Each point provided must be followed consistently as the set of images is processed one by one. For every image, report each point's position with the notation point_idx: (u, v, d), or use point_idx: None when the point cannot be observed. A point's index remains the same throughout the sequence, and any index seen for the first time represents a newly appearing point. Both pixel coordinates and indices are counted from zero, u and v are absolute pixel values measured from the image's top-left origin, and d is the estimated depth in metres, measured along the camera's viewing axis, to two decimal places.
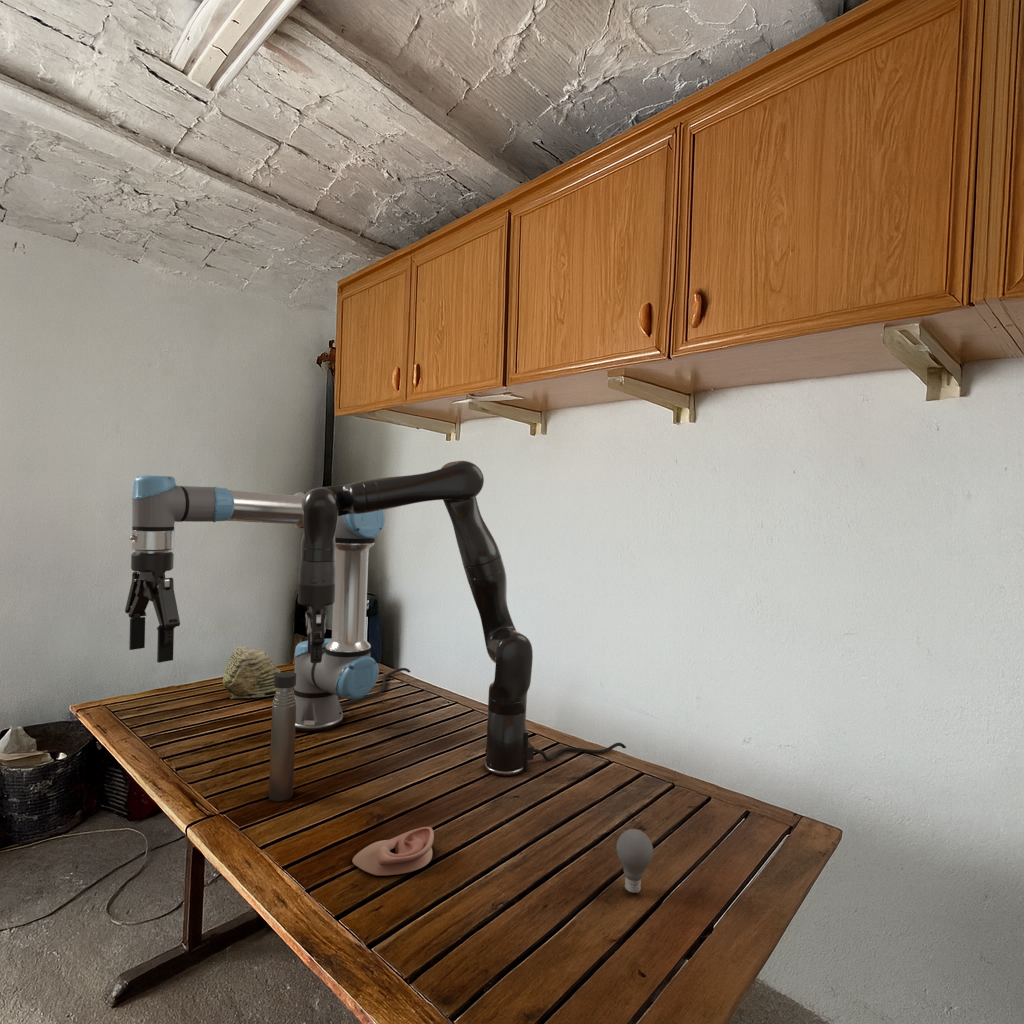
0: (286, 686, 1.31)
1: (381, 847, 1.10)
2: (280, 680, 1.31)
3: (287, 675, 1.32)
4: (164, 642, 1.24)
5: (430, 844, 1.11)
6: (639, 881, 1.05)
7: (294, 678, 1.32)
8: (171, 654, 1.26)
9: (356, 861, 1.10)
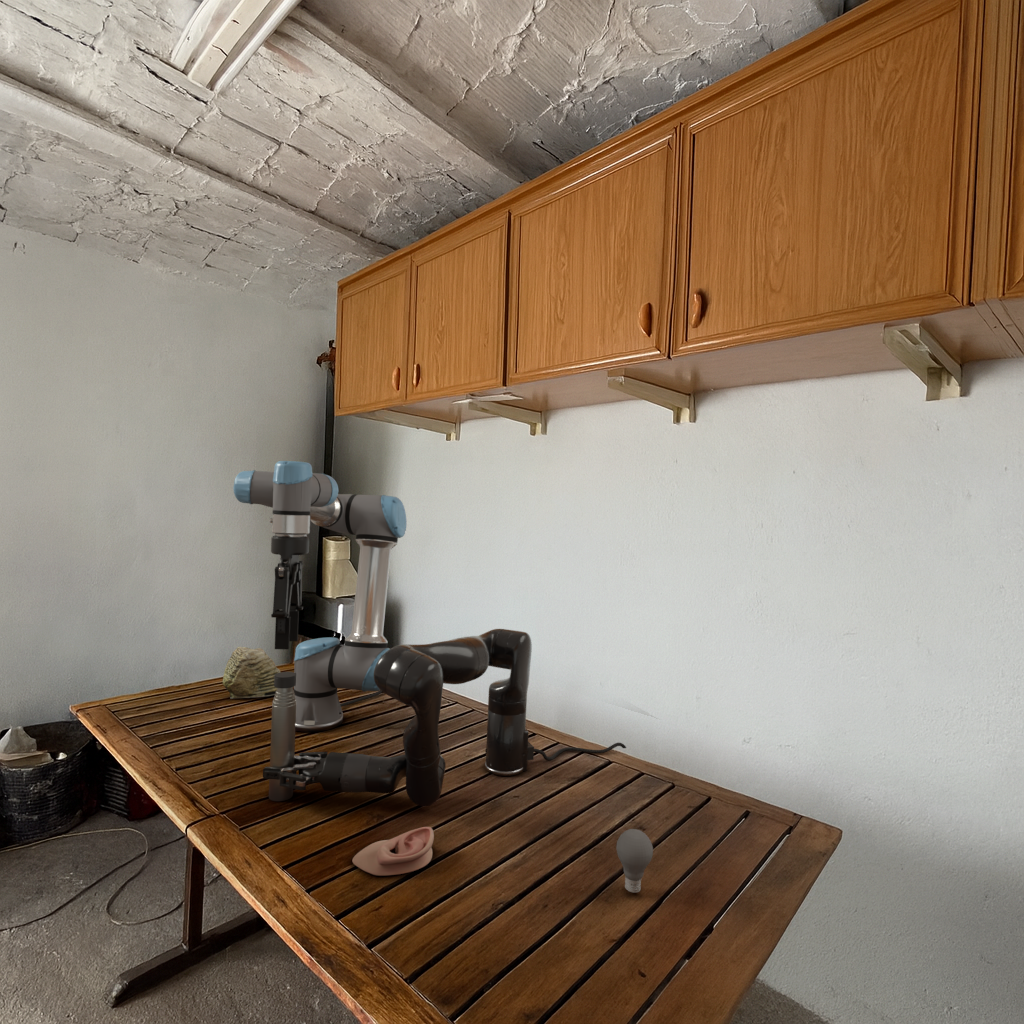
0: (286, 686, 1.31)
1: (381, 847, 1.10)
2: (280, 680, 1.31)
3: (287, 675, 1.32)
4: None
5: (430, 844, 1.11)
6: (639, 881, 1.05)
7: (294, 678, 1.32)
8: (286, 643, 1.29)
9: (356, 861, 1.10)
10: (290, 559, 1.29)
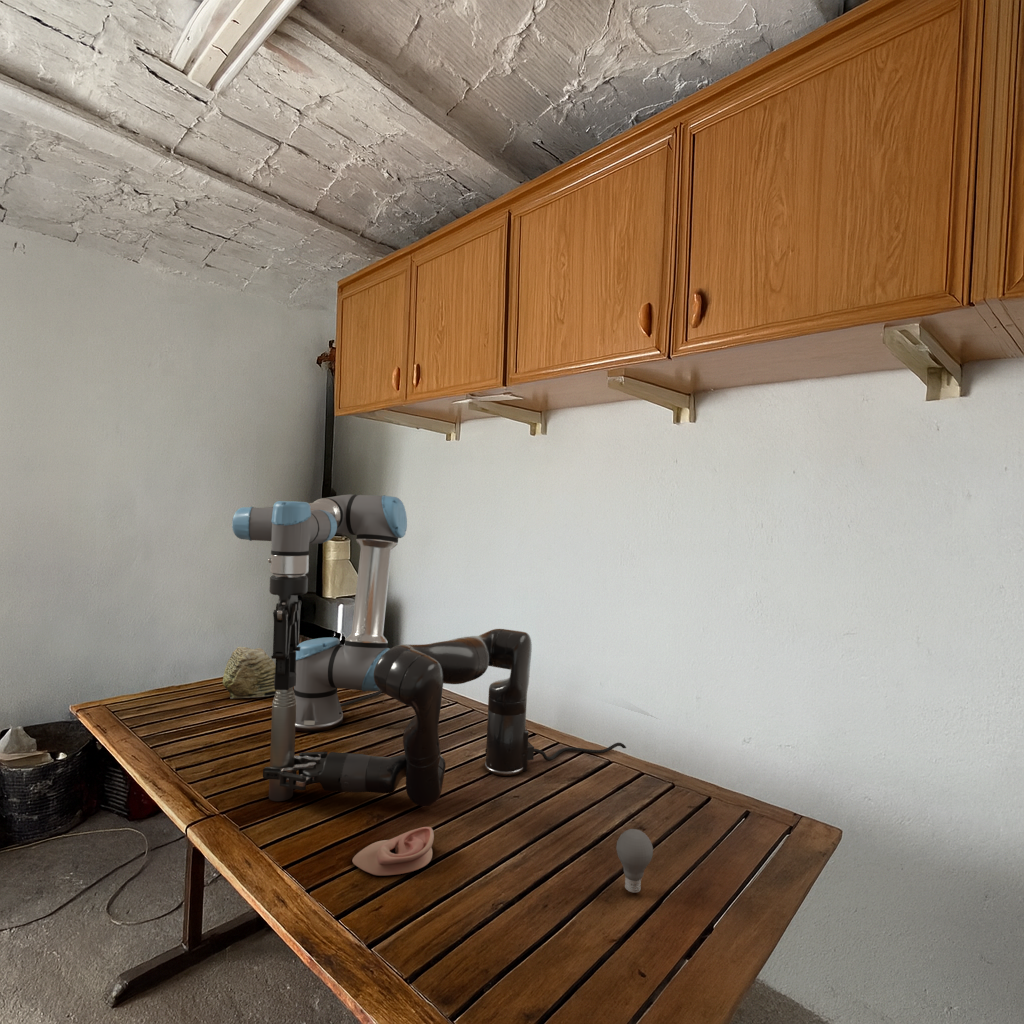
0: None
1: (381, 847, 1.10)
2: None
3: None
4: None
5: (430, 844, 1.11)
6: (639, 881, 1.05)
7: (294, 678, 1.32)
8: (286, 684, 1.30)
9: (356, 861, 1.10)
10: (288, 600, 1.29)
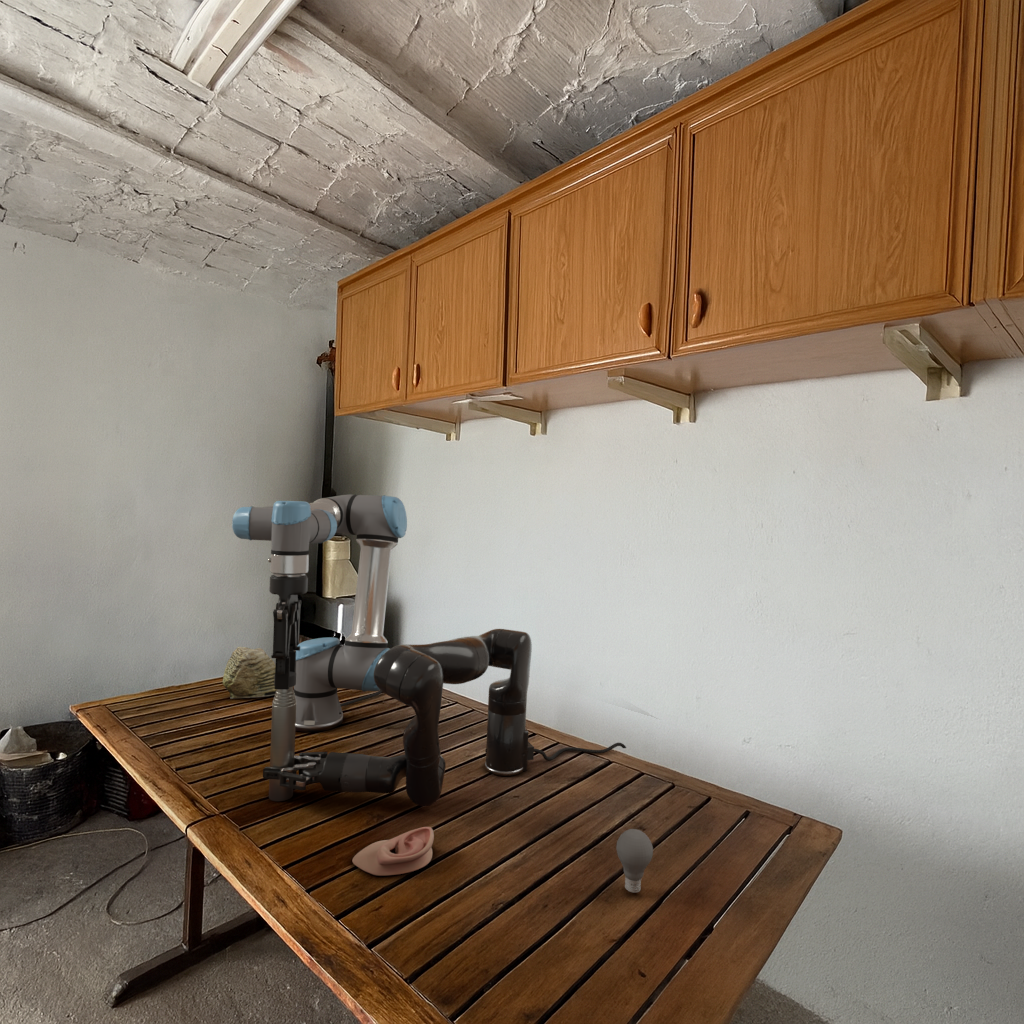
0: None
1: (381, 847, 1.10)
2: (295, 677, 1.33)
3: None
4: None
5: (430, 844, 1.11)
6: (639, 881, 1.05)
7: None
8: (286, 683, 1.30)
9: (356, 861, 1.10)
10: (288, 599, 1.29)
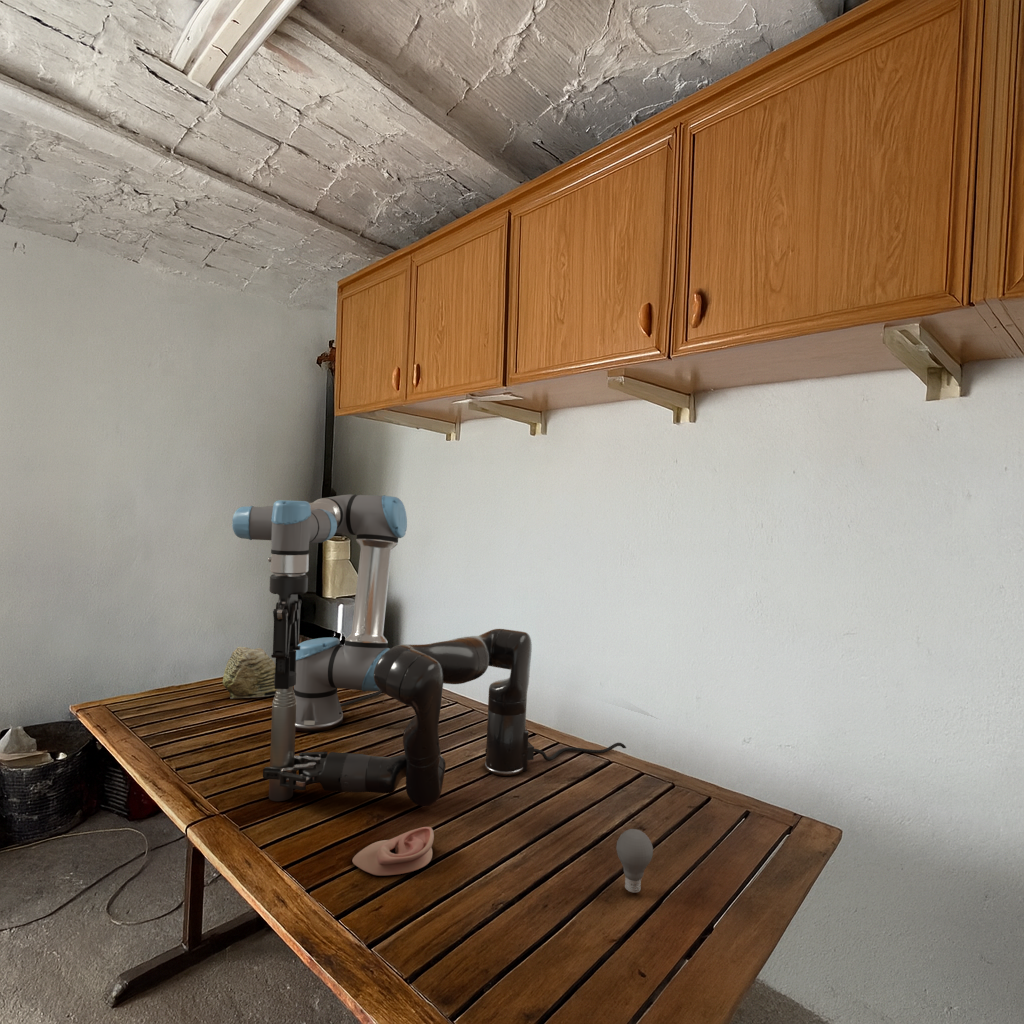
0: None
1: (381, 847, 1.10)
2: None
3: None
4: None
5: (430, 844, 1.11)
6: (639, 881, 1.05)
7: None
8: (286, 683, 1.30)
9: (356, 861, 1.10)
10: (288, 599, 1.29)
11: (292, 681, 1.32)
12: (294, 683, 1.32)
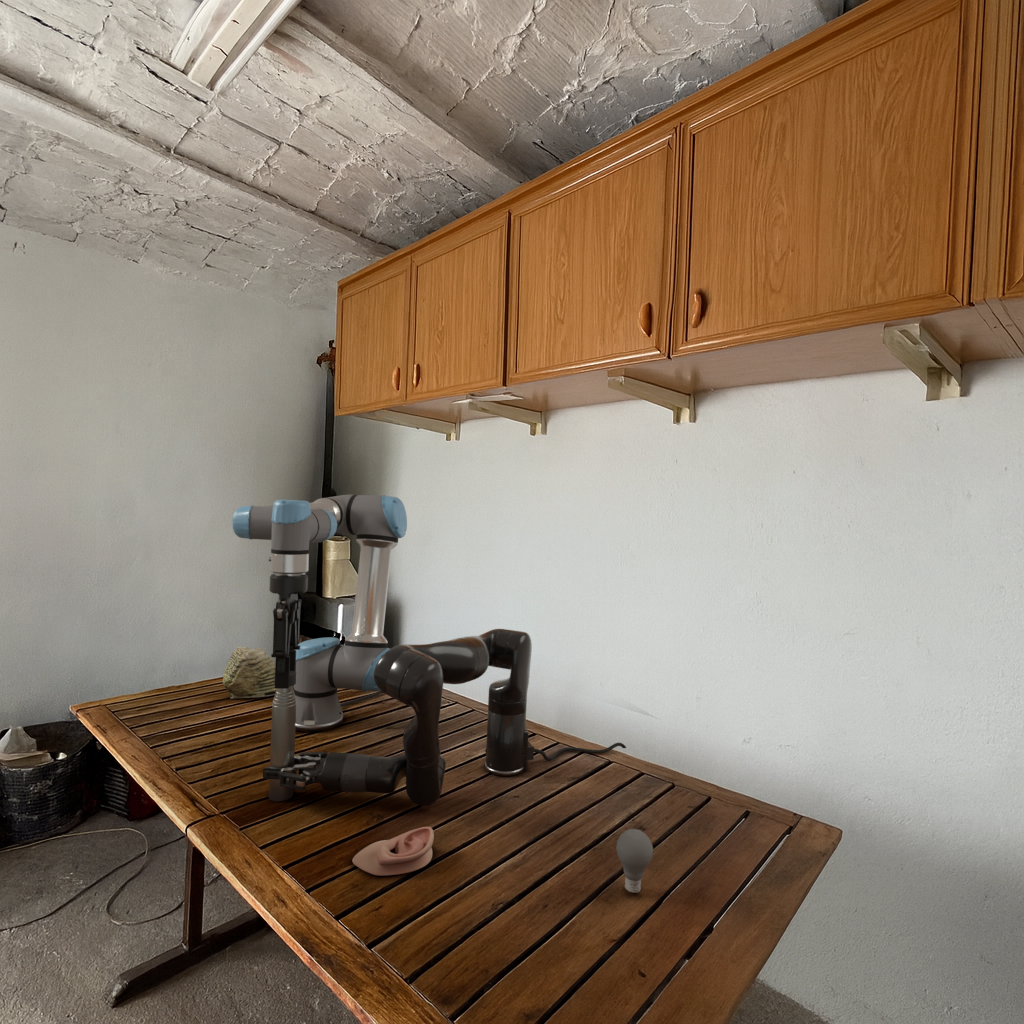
0: (274, 683, 1.32)
1: (381, 847, 1.10)
2: None
3: None
4: None
5: (430, 844, 1.11)
6: (639, 881, 1.05)
7: None
8: (286, 682, 1.30)
9: (356, 861, 1.10)
10: (288, 598, 1.29)
11: None
12: None
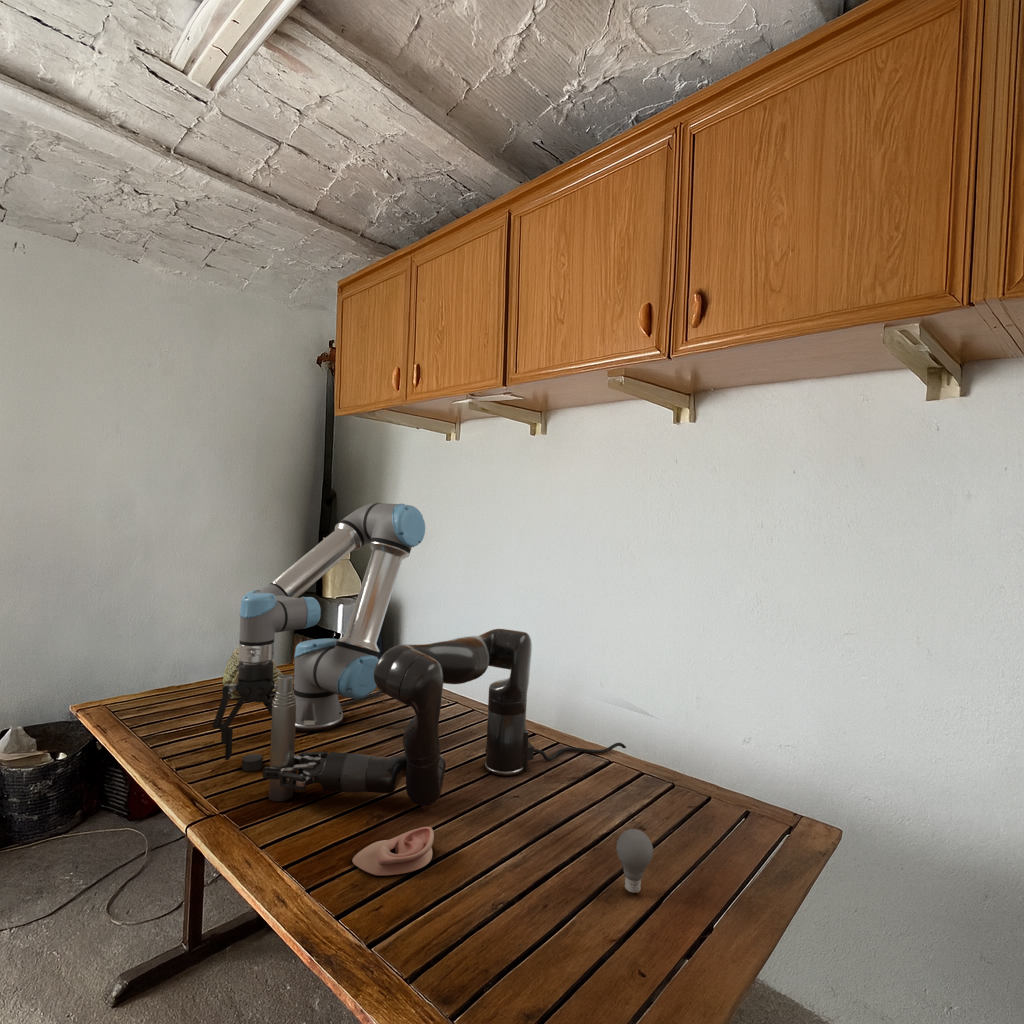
0: (256, 768, 1.45)
1: (381, 847, 1.10)
2: (250, 764, 1.44)
3: (255, 758, 1.46)
4: None
5: (430, 844, 1.11)
6: (639, 881, 1.05)
7: (262, 760, 1.47)
8: None
9: (356, 861, 1.10)
10: None
11: None
12: None
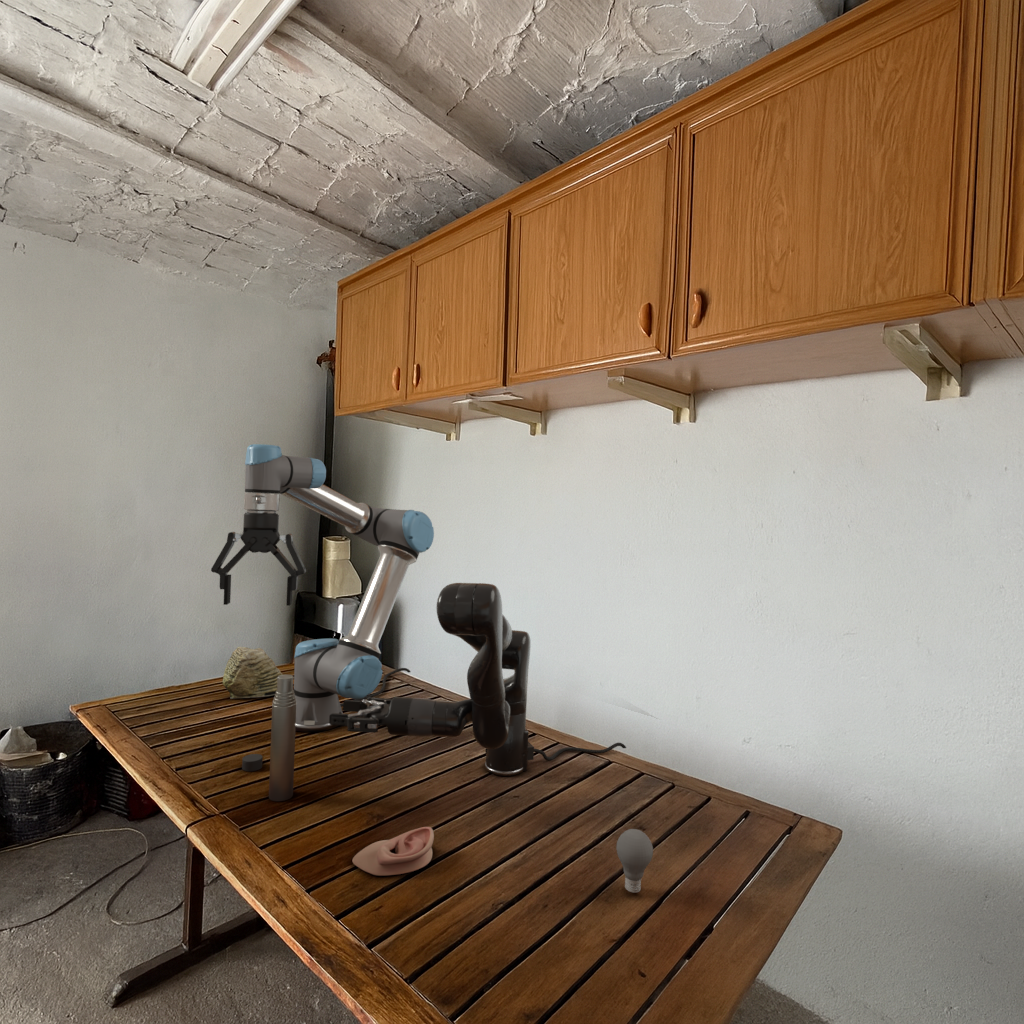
0: (256, 768, 1.45)
1: (381, 847, 1.10)
2: (250, 764, 1.44)
3: (255, 758, 1.46)
4: (294, 587, 1.46)
5: (430, 844, 1.11)
6: (639, 881, 1.05)
7: (262, 760, 1.47)
8: (291, 598, 1.48)
9: (356, 861, 1.10)
10: None
11: None
12: None
